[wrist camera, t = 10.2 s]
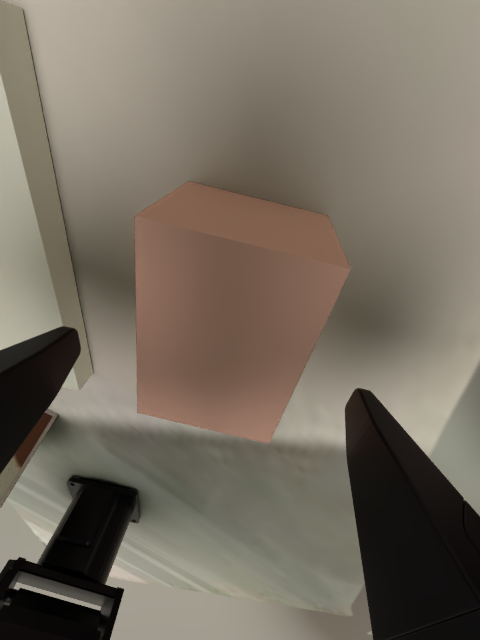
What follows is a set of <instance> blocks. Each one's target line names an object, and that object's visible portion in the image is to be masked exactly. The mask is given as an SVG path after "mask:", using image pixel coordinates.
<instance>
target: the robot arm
mask: <svg viewBox="0 0 480 640" xmlns="http://www.w3.org/2000/svg"><path fill="white" fill-rule="evenodd" d="M80 353H81V344H80V340H79V335H78V331H77V330H76V329H75V328H71V327H66V326H61V327H58V328H56V329H53V330H51V331H48V332H46V333H43V334H40V335H38V336H35V337H33V338H30V339H28V340H25V341H23V342H20V343H18V344H15V345H12V346H10V347H7V348H5V349H2V350H0V474H1V473H2V471H3V470H4V469H5V467H6V466H7V464H8V463H9V462H10V460H11V459H12V457H13V456H14V455H15V453H16V452H17V450H18V449H19V448H20V446H21V445H22V443H23V442H24V441H25V439H26V438H27V436H28V435H29V434H30V432H31V431H32V429H33V428H34V427H35V425H36V424H37V422H38V421H39V420H40V418H41V417H42V415H43V414H44V413H45V411H46V410H47V408H48V407H49V406H50V404H51V403H52V401H53V400H54V398H55V397H56V396H57V394H58V392H59V391H60V389H61V387H62V385H63V384H64V382H65V380H66V378H67V377H68V375H69V373H70V371H71V369H72V368H73V366H74V364H75V362H76V361H77V359H78V357H79V355H80ZM345 427H346V453H347V464H348V471H349V478H350V484H351V491H352V498H353V505H354V512H355V518H356V525H357V532H358V539H359V546H360V552H361V559H362V566H363V573H364V580H365V586H366V593H367V600H368V607H369V613H370V620H371V627H372V634H373V640H480V516H479V515H478V514H477V513H476V512H475V510H474V509H473V508H472V507H471V506H470V505H469V504H468V503H467V501H465V500H464V498H463V497H462V496H461V495H460V493H459V492H458V491H457V490H456V489H455V488H454V487H453V485H452V484H451V483H450V482H449V481H448V480H447V478H446V477H445V476H444V475H443V474H442V473H441V471H440V470H439V469H438V468H437V467H436V466H435V465H434V463H433V462H432V461H431V460H430V459H429V458H428V456H427V455H426V454H425V453H424V452H423V451H422V450H421V448H420V447H419V446H418V445H417V444H416V443H415V441H414V440H413V439H412V438H411V437H410V436H409V435H408V433H407V432H406V431H405V430H404V429H403V428H402V426H401V425H400V424H399V423H398V422H397V421H396V420H395V418H394V417H393V416H392V415H391V414H390V413H389V412H388V410H387V409H386V408H385V407H384V406H383V405H382V403H381V402H380V401H379V400H378V399H377V398H376V397H375V395H374V394H373V393H372V392H371V391H369V390H365V389H361V388H357V389H355V391H354V392H353V394H352V395H351V397H350V399H349V401H348V402H347V404H346V407H345ZM67 484H68V487H69V490H70V492H71V495H72V497H73V500H72V502H71V504H70V505H69V507H68V509H67V511H66V513H65V514H64V516H63V518H62V520H61V521H60V523H59V525H58V527H57V529H56V530H55V532H54V534H53V536H52V538H51V539H50V541H49V543H48V545H47V546H46V548H45V550H44V552H43V554H42V555H41V558H40V559H39V561H38V563H37V564H35V563H32V562H29V561H26V559H25V558H21V557H19V558H18V559H17V560H9V561H8V562H7V564H6V566H5V567H4V569H3V570H2V572H1V573H0V640H110V637H111V634H112V630H113V626H114V623H115V620H116V616H117V613H118V609H119V605H120V602H121V598H122V595H123V592H124V589H122V588H119V587H118V588H114V587H111V586H107V585H105V583H106V581H107V578H108V576H109V573H110V571H111V568H112V565H113V563H114V560H115V558H116V555H117V553H118V550H119V547H120V545H121V542H122V540H123V537H124V535H125V532H126V529H127V527H128V524H129V522H132V523H138V522H139V520H140V510H139V500H138V493H137V492H136V491H134V490H130V489H125V488H121V487H116V486H112V485H107V484H102V483H98V482H93V481H89V480H84V479H79V478H75V477H70V478H69V480H68V481H67ZM16 582H19V583H22V584H26V585H29V586H33V587H36V588H40V589H43V590H46V591H50V592H54V593H57V594H60V595H64V596H67V597H71V598H74V599H77V600H81V601H84V602H88V603H91V604H95V605H98V606H101V610H100V611H99V610H95V609H92V608H88V607H85V606H81V605H78V604H75V603H71V602H67V601H64V600H60V599H57V598H54V597H50V596H47V595H43V594H40V593H36V592H33V591H29V590H26V589H22V588H20V589H19V590H16V589H13V588H14V586H15V584H16Z"/></svg>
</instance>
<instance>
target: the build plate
mask: <svg viewBox="0 0 480 640" xmlns="http://www.w3.org/2000/svg"><path fill="white" fill-rule="evenodd" d="M61 326H66V327H71V328H75V329H76V330H77V331H78V335H79V340H80V344H81V353H80V355H79V357H78V359H77V361H76V362H75V364H74V366H73V368H72V369H71V371H70V373H69V375H68V377H67V378H66V380H65V382H64V384H63V385H62V387H63V388H68V389H72V390H77V391H80V389H81V388H82V387H83V385H84V384H85V383H86V381H87V380H88V379H89V377H90V376H91V375H92V373H93V369H92V364H91V359H90V354H89V349H88V344H87V338H86V333H85V328H84V323H83V318H82V313H81V308H80V302H79V297H78V292H77V287H76V282H75V277H74V272H73V266H72V261H71V256H70V251H69V246H68V241H67V236H66V230H65V225H64V220H63V215H62V210H61V205H60V200H59V194H58V189H57V184H56V179H55V174H54V169H53V164H52V159H51V153H50V148H49V143H48V138H47V133H46V128H45V123H44V117H43V112H42V107H41V102H40V97H39V92H38V87H37V81H36V76H35V71H34V66H33V61H32V56H31V51H30V45H29V40H28V35H27V30H26V25H25V20H24V15H23V9H21V8H18V7H16V6H13V5H11V4H9V3H6V2H4V1H2V0H0V350H2V349H5V348H7V347H10V346H12V345H15V344H18V343H20V342H23V341H25V340H28V339H30V338H33V337H35V336H38V335H40V334H43V333H46V332H48V331H51V330H53V329H56V328H58V327H61Z"/></svg>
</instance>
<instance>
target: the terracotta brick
mask: <svg viewBox="0 0 480 640" xmlns="http://www.w3.org/2000/svg"><path fill="white" fill-rule="evenodd" d="M350 270H351V267H350V265H349V263H348V261H347V258H346V256H345V254H344V251H343V249H342V247H341V245H340V242H339V240H338V238H337V235H336V233H335V231H334V229H333V226H332V224H331V222H330V220H329V217H328V216H327V215H323V214H319V213H315V212H311V211H307V210H303V209H299V208H295V207H291V206H287V205H283V204H278V203H274V202H270V201H266V200H262V199H258V198H254V197H250V196H246V195H242V194H238V193H234V192H230V191H226V190H222V189H218V188H214V187H210V186H205V185H201V184H197V183H193V182H189V181H188V182H187V183H185V184H184V185H182V186H181V187H179V188H177V189H176V190H174V191H173V192H171V193H170V194H168V195H167V196H165V197H163V198H162V199H160V200H159V201H157V202H156V203H154V204H153V205H151V206H149V207H148V208H146V209H145V210H143V211H142V212H140V213H139V214H137V215H135V274H136V344H137V413H142V414H146V415H150V416H154V417H158V418H163V419H167V420H171V421H175V422H179V423H184V424H188V425H192V426H196V427H200V428H205V429H209V430H213V431H217V432H222V433H226V434H230V435H234V436H238V437H243V438H247V439H251V440H255V441H259V442H264V443H268V444H269V442H270V440H271V438H272V436H273V434H274V432H275V430H276V427H277V425H278V423H279V421H280V419H281V417H282V415H283V413H284V410H285V408H286V406H287V404H288V402H289V400H290V398H291V396H292V393H293V391H294V389H295V387H296V385H297V383H298V381H299V379H300V376H301V374H302V372H303V370H304V368H305V366H306V364H307V362H308V359H309V357H310V355H311V353H312V351H313V349H314V347H315V345H316V342H317V340H318V338H319V336H320V334H321V332H322V330H323V328H324V326H325V323H326V321H327V319H328V317H329V315H330V313H331V311H332V309H333V306H334V304H335V302H336V300H337V298H338V296H339V294H340V292H341V289H342V287H343V285H344V283H345V281H346V279H347V277H348V275H349V272H350Z"/></svg>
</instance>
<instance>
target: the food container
mask: <svg viewBox="0 0 480 640" xmlns="http://www.w3.org/2000/svg"><path fill="white" fill-rule="evenodd" d="M57 416H58V414H57V413H55V412H53V411H51V410H49V409H47V410H46V411H45V413H44V414H43V415H42V417H41V418H40V420H39V421H38V422H37V424H36V425H35V427H34V428H33V429H32V431H31V432H30V434H29V435H28V436H27V438H26V439H25V441H24V442H23V443H22V445H21V446H20V448H19V449H18V450H17V452H16V453H15V455H14V456H13V457H12V459H11V460H10V462H9V463H8V464H7V466H6V467H5V469H4V470H3V471H2V473H1V474H0V508H1V507H2V505H3V503H4V502H5V500H6V498H7V497H8V495H9V494H10V492H11V490H12V489H13V487H14V485H15V484H16V482H17V481H18V479H19V477H20V476H21V474H22V472H23V471H24V469H25V468H26V466H27V464H28V463H29V461H30V459H31V458H32V456H33V455H34V453H35V451H36V450H37V448H38V446H39V445H40V443H41V442H42V440H43V438H44V437H45V435H46V434H47V432H48V430H49V429H50V427H51V425H52V424H53V422H54V421H55V419H56V417H57Z"/></svg>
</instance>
